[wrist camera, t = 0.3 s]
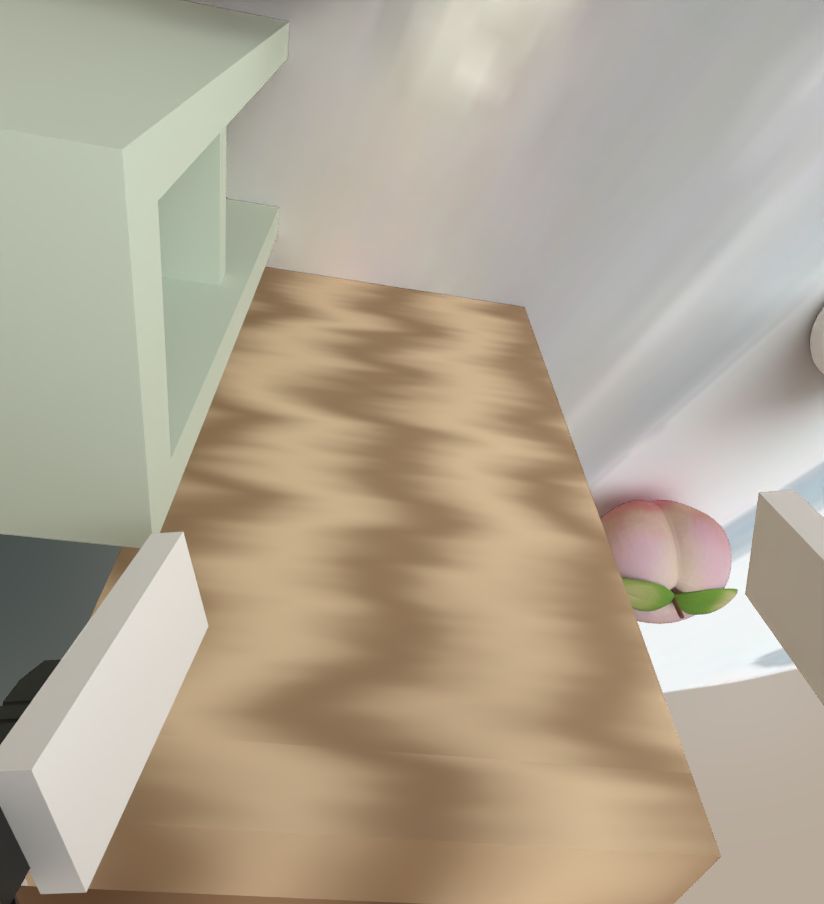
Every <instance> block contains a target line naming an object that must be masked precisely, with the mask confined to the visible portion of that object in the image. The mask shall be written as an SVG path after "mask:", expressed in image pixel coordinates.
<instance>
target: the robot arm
mask: <svg viewBox="0 0 824 904" xmlns="http://www.w3.org/2000/svg"><path fill="white" fill-rule="evenodd" d="M745 594H746V596H747V597H748V599H749V600H750V601H751V603H752V604H753V606H754V607H755V609H756V610H757V611H758V613H759V614H760V616H761V617H762V619H763V620H764V621H765V623H766V624H767V626H768V627H769V628H770V630H771V631H772V633H773V634H774V636H775V637H776V638H777V640H778V641H779V643H780V644H781V645H782V647H783V648H784V650H785V651H786V653H787V654H788V655H789V657H790V658H791V660H792V661H793V662H794V664H795V665H796V667H797V668H798V669H799V671H800V672H801V674H802V675H803V677H804V678H805V679H806V681H807V682H808V684H809V685H810V686H811V688H812V689H813V691H814V692H815V694H816V695H817V696H818V698H819V699H820V701H821V702H822V703H823V705H824V517H823V516H822V515H821V514H820V513H818V512H817V511H816V510H815V509H814V508H813V507H812V506H811V505H810V504H809V503H808V502H807V501H806V500H805V499H804V498H803V497H801V496H800V495H799V494H798V493H797V492H796V491H795V490H784V491H770V492H759V496H758V503H757V511H756V518H755V526H754V533H753V540H752V548H751V555H750V563H749V570H748V578H747V585H746V593H745ZM207 628H208V622H207V619H206V615H205V611H204V607H203V604H202V600H201V596H200V592H199V588H198V585H197V581H196V577H195V573H194V570H193V566H192V562H191V558H190V555H189V551H188V547H187V543H186V540H185V536H184V532H169V533H154V534H151V535H150V536H149V538H148V539H147V541H146V542H145V543H144V545H143V546H142V548H141V549H140V550H139V552H138V553H137V555H136V556H135V557H134V559H133V560H132V562H131V563H130V564H129V566H128V567H127V569H126V570H125V571H124V573H123V574H122V576H121V577H120V578H119V580H118V581H117V583H116V584H115V585H114V587H113V588H112V590H111V591H110V592H109V594H108V595H107V597H106V598H105V599H104V601H103V602H102V604H101V605H100V606H99V608H98V609H97V610H96V612H95V613H94V615H93V616H92V617H91V619H90V620H89V622H88V623H87V624H86V626H85V627H84V629H83V630H82V632H81V633H80V634H79V636H78V637H77V638H76V640H75V641H74V643H73V644H72V646H71V647H70V648H69V650H68V651H67V652H66V654H65V655H64V657H63V658H62V659H61V660H46V661H43V662H42V663H41V664H40V665H38V666H37V667H36V668H34V669H33V670H32V671H31V672H29V673H28V674H27V675H26V676H24V677H23V678H22V679H21V680H19V682H18V683H17V685H16V686H15V687H14V688H13V690H12V691H11V692H10V694H9V695H8V696H7V697H6V699H5V700H4V701H3V706H0V904H20V903H19V901H18V899H17V897H16V893H17V891H18V890H19V888H20V886H21V884H22V882H23V880H24V879H25V877H26V875H27V873H28V871H29V872H30V874H31V876H32V878H33V880H34V882H35V884H36V886H37V888H38V890H39V892H40V894H59V893H86V892H87V890H88V888H89V886H90V883H91V881H92V879H93V877H94V875H95V873H96V870H97V868H98V866H99V864H100V862H101V859H102V857H103V855H104V853H105V851H106V849H107V846H108V844H109V842H110V840H111V838H112V836H113V833H114V831H115V829H116V827H117V825H118V822H119V820H120V818H121V816H122V814H123V812H124V809H125V807H126V805H127V803H128V801H129V798H130V796H131V794H132V792H133V790H134V788H135V785H136V783H137V781H138V779H139V777H140V774H141V772H142V770H143V768H144V766H145V764H146V761H147V759H148V757H149V755H150V753H151V750H152V748H153V746H154V744H155V742H156V740H157V737H158V735H159V733H160V731H161V729H162V727H163V724H164V722H165V720H166V718H167V716H168V713H169V711H170V709H171V707H172V705H173V703H174V700H175V698H176V696H177V694H178V692H179V689H180V687H181V685H182V683H183V681H184V679H185V676H186V674H187V672H188V670H189V668H190V665H191V663H192V661H193V659H194V657H195V655H196V652H197V650H198V648H199V646H200V644H201V642H202V639H203V637H204V635H205V633H206V631H207Z"/></svg>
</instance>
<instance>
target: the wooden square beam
mask: <svg viewBox="0 0 824 904" xmlns="http://www.w3.org/2000/svg"><path fill="white" fill-rule="evenodd" d="M16 897H17V899H18V901H19V903H20V904H417V903H395V902H373V901H350V900H328V899H305V898H283V897H260V896H238V895H215V894H193V893H171V892H148V891H126V890H103V889H88V890H87V892H86V893H59V894H40V892H39V890H38V888H37V887H36V886H20V888H19V890H18V891H17V893H16Z"/></svg>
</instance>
